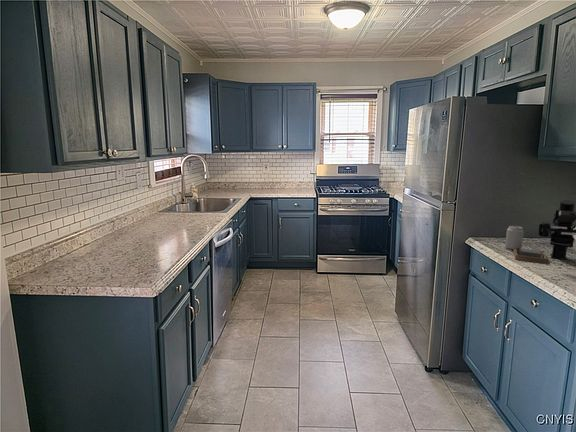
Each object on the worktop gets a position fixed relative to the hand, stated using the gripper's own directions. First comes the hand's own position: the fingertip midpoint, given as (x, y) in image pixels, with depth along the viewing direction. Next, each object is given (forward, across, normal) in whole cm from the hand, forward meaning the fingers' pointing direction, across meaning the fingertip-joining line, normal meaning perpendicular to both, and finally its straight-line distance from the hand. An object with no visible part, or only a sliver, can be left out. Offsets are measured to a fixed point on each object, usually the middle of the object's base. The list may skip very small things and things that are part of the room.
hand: (563, 237), depth 159 cm
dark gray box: (-14, -13, +18) cm, 26 cm away
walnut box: (-14, -13, +18) cm, 26 cm away
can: (-26, -21, +20) cm, 39 cm away
